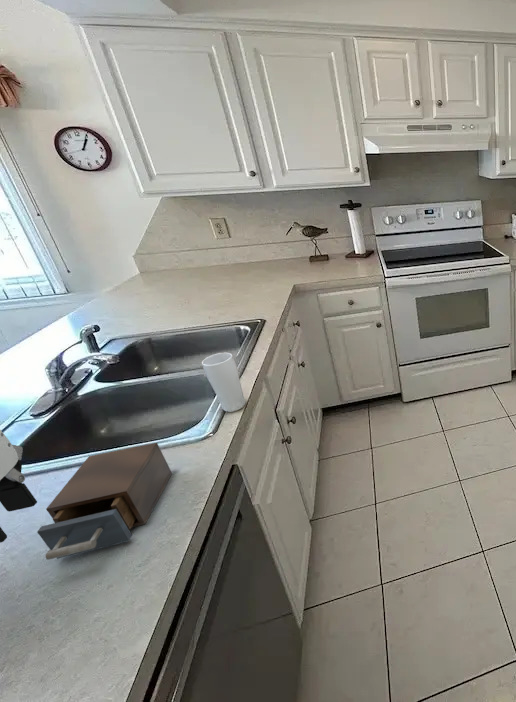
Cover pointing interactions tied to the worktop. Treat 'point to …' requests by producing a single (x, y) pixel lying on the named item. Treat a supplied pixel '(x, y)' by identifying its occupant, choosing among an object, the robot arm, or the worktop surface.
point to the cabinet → (118, 480)
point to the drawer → (88, 527)
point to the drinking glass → (224, 380)
